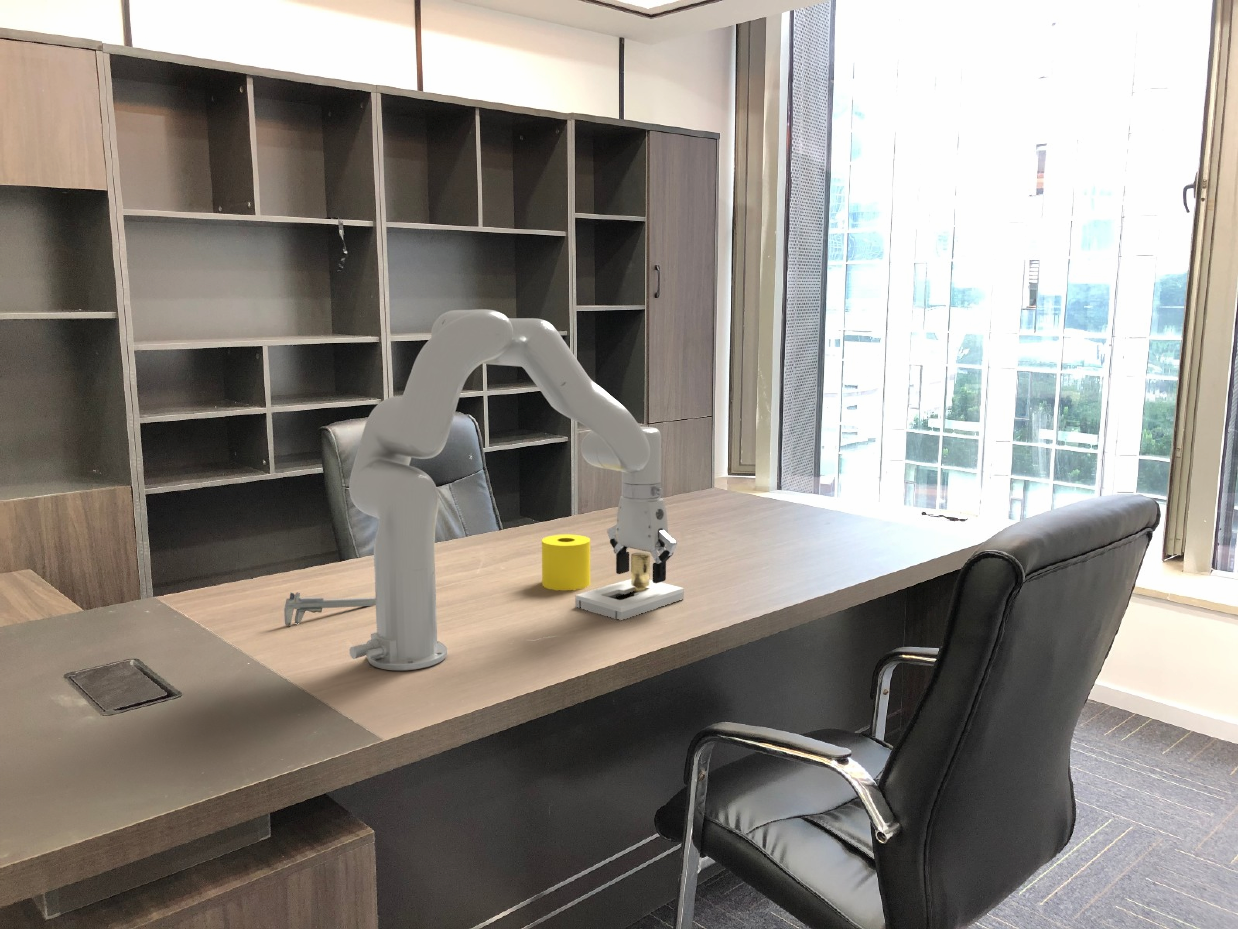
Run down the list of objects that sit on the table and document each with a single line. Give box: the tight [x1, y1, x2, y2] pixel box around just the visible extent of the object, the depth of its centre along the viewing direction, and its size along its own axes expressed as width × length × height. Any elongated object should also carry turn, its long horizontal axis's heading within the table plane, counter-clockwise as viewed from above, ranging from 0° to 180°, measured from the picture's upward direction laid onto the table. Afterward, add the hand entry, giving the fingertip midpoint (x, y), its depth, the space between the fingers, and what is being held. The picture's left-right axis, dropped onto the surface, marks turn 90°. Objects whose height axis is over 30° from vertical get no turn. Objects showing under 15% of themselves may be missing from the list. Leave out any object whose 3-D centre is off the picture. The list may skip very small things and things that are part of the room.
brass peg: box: [629, 552, 651, 597], centre depth 185 cm, size 4×4×9 cm
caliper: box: [283, 592, 376, 627], centre depth 177 cm, size 20×1×6 cm, turn 138°
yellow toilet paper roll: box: [541, 534, 591, 591], centre depth 197 cm, size 10×10×9 cm
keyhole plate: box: [574, 578, 685, 621], centre depth 184 cm, size 18×12×2 cm, turn 137°
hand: (640, 577), depth 186 cm, fingers open, 9 cm apart
